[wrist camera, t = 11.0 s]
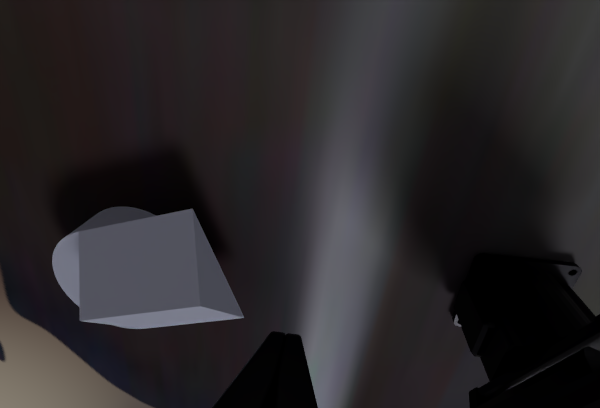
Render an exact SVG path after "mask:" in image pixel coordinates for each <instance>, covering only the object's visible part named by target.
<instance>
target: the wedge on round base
mask: <svg viewBox="0 0 600 408" xmlns="http://www.w3.org/2000/svg"><path fill="white" fill-rule="evenodd" d="M52 264H53V270H54V273H55V276H56V278H57V281H58V283H59V284H60V286H61V288H62V289H63V290H64V292H65V293H66V294H67V295H68V297H69V298H70V299H71V300H72V301H73V302H74V303H75V304H77V305H78V306H79V307H80V321H85V322H93V323H101V324H109V325H114V326H118V327H123V328H129V329H145V328H155V327H164V326H173V325H182V324H192V323H201V322H210V321H219V320H229V319H238V318H244V316H243V314H242V312H241V310H240V308H239V305H238V303H237V301H236V299H235V297H234V295H233V293H232V291H231V288H230V286H229V284H228V282H227V280H226V278H225V276H224V274H223V272H222V269H221V267H220V265H219V263H218V261H217V259H216V257H215V255H214V253H213V250H212V248H211V246H210V244H209V242H208V240H207V238H206V236H205V234H204V231H203V229H202V227H201V225H200V223H199V221H198V219H197V217H196V215H195V212H194V210H193V209H188V210H183V211H178V212H173V213H168V214H163V215H158V216H156V215H154V214H152V213H150V212H147V211H144V210H142V209H138V208H133V207H111V208H108V209H105V210H103V211H101V212H99V213H97V214H96V215H95V216H93V217H92V218H91V219H89V220H88V221H86V222H85V223H84V224H82V225H81V226H80V227H78V228H77V229H75V230H74V231H73V232H71V233H70V234H69V235H67V236H66V237H65V238H63V239H62V240H61V241H60V242H59V243H58V244H57V246H56V248H55V250H54V253H53V259H52Z"/></svg>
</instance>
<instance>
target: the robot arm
mask: <svg viewBox="0 0 600 408" xmlns="http://www.w3.org/2000/svg"><path fill="white" fill-rule="evenodd" d="M482 260H485V261H484V262H480V261H482ZM570 270H572V271H570ZM569 271H570V272H569ZM581 272H582V270H581V268H580V267H579V266H578V265H577V264H575V263H571V262H562V261H552V260H543V259H534V258H524V257H515V256H505V255H496V254H486V253H480V254H478V255H476V256H475V257H474V259H473V262H472V265H471V268H470V270H469V273H468V276H467V279H465V280H464V281H463V283H462V285H461V288H460V291H459V294H458V296H457V299H456V302H455V305H454V309H455V311H454V314H453V317H452V319H453V322H454V324H455V325H456V326H459V327H462V330H463V333H464V335H465V338H466V340H467V343H468V346H469V348H470V351H471V353H472V354H473V355H474V356H477V357H480V358H481V361H482V363H483V366H484V368H485V371H486V373H487V376H488V378H489V381H490V382H488V383H487V384H485V385H483V386H481V387H480V388H477V387H476V388H474V389H473V390H471V391H469V402H470V408H600V315H598V316H595V315H594V314H593V313H592V312H591V311H590V309H589V308H588V307H587V306H586V305H585V304H584V302H583V301H582V300H581V299H580V298H579V297H578V295H577V294H576V293H575V292H574V291H573V290H572V288H573V287H574V285H575V283H576V282H577V280H578V278H579V276H580V275H581ZM212 408H318V407H317V403H316V398H315V394H314V390H313V386H312V382H311V377H310V373H309V369H308V365H307V360H306V356H305V352H304V348H303V343H302V339H301V336H300V335H297V334H290V333H288V334H285V333H283V332H275V331H273V332H271V333H270V334H269V335H268V337H267V338H266V339H265V340H264V342H263V343H262V344H261V346H260V347H259V348H258V349H257V351H256V352H255V353H254V355H253V356H252V357H251V358H250V360H249V361H248V362H247V364H246V365H245V366H244V367H243V369H242V370H241V371H240V373H239V374H238V375H237V376H236V378H235V379H234V380H233V382H232V383H231V384H230V385H229V387H228V388H227V389H226V391H225V392H224V393H223V394H222V396H221V397H220V398H219V400H218V401H217V402H216V404H215V405H214V406H213V407H212Z"/></svg>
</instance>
